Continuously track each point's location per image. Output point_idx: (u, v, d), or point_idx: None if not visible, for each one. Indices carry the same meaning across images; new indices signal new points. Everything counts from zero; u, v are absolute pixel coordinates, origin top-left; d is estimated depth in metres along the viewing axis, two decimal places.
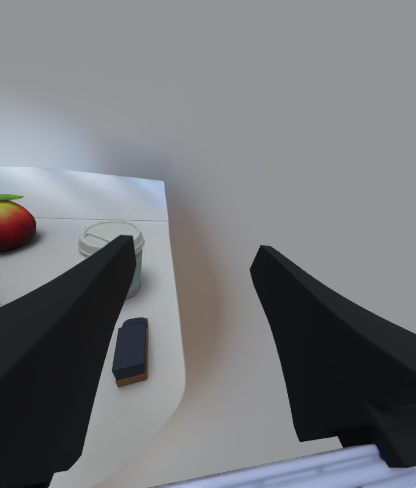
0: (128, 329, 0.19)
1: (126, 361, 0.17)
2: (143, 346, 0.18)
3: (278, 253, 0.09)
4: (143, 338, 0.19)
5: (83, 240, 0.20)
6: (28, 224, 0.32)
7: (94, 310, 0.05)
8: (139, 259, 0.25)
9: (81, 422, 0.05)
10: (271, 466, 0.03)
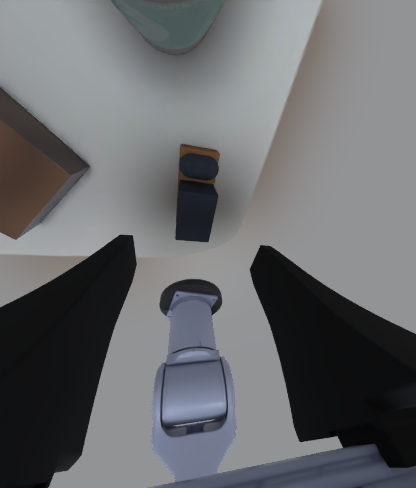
0: (193, 198, 0.12)
1: (190, 236, 0.14)
2: (210, 226, 0.14)
3: (278, 252, 0.09)
4: (212, 217, 0.13)
5: None
6: None
7: (94, 310, 0.05)
8: None
9: (81, 421, 0.05)
10: (271, 466, 0.03)
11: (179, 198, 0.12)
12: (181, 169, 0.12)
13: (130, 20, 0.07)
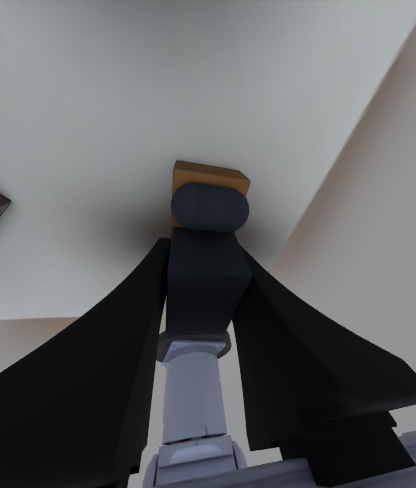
0: (199, 282, 0.06)
1: (193, 329, 0.08)
2: (231, 316, 0.07)
3: (244, 250, 0.08)
4: (235, 305, 0.07)
5: None
6: None
7: (157, 310, 0.05)
8: None
9: (148, 414, 0.05)
10: (271, 466, 0.03)
11: (170, 284, 0.05)
12: (175, 216, 0.06)
13: None
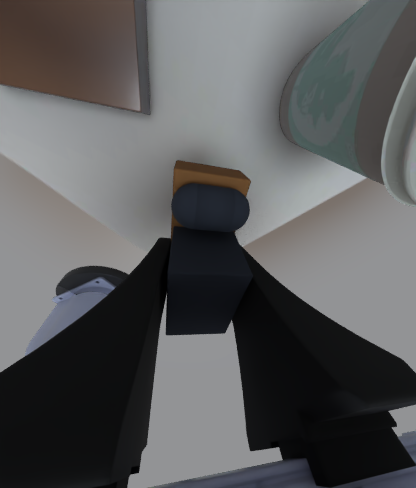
0: (200, 282, 0.06)
1: (193, 329, 0.08)
2: (231, 315, 0.07)
3: (244, 250, 0.08)
4: (236, 305, 0.07)
5: None
6: None
7: (157, 310, 0.05)
8: None
9: (148, 413, 0.05)
10: (271, 466, 0.03)
11: (170, 284, 0.05)
12: (175, 216, 0.06)
13: (306, 111, 0.09)
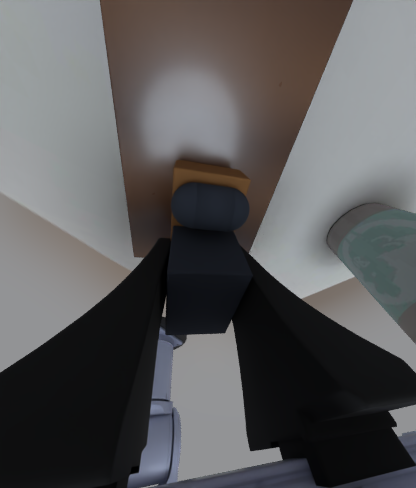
0: (199, 282, 0.06)
1: (193, 329, 0.08)
2: (231, 315, 0.07)
3: (244, 250, 0.08)
4: (236, 305, 0.07)
5: None
6: None
7: (157, 310, 0.05)
8: None
9: (148, 413, 0.05)
10: (271, 466, 0.03)
11: (170, 284, 0.05)
12: (175, 215, 0.06)
13: (358, 267, 0.13)
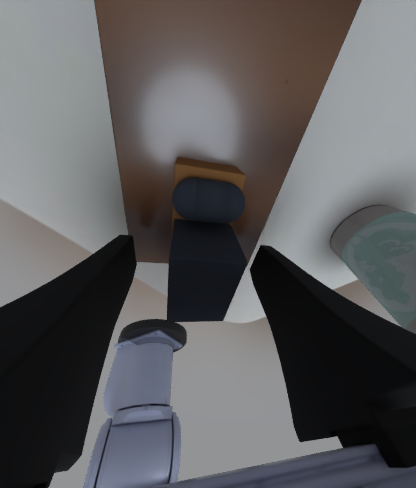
0: (198, 268, 0.06)
1: (192, 316, 0.08)
2: (228, 303, 0.08)
3: (278, 253, 0.09)
4: (232, 292, 0.07)
5: None
6: None
7: (94, 310, 0.05)
8: None
9: (81, 421, 0.05)
10: (271, 466, 0.03)
11: (171, 270, 0.06)
12: (176, 208, 0.07)
13: (364, 272, 0.13)
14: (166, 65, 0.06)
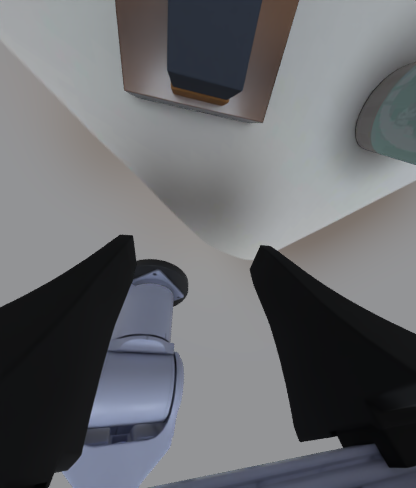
0: None
1: (203, 58, 0.06)
2: (254, 24, 0.05)
3: (278, 252, 0.09)
4: None
5: None
6: None
7: (94, 310, 0.05)
8: None
9: (81, 422, 0.05)
10: (271, 466, 0.03)
11: None
12: None
13: (405, 123, 0.11)
14: None
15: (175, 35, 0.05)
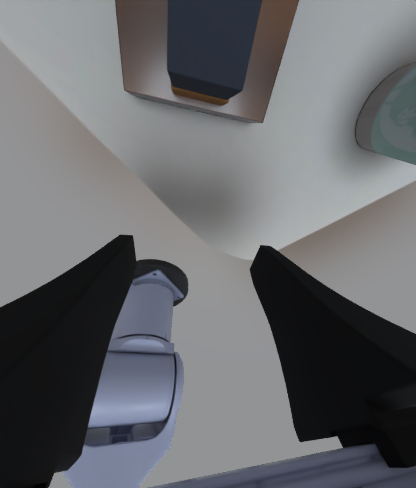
0: None
1: (203, 58, 0.06)
2: (254, 24, 0.05)
3: (278, 252, 0.09)
4: None
5: None
6: None
7: (94, 310, 0.05)
8: None
9: (81, 422, 0.05)
10: (271, 466, 0.03)
11: None
12: None
13: (405, 123, 0.11)
14: None
15: (175, 35, 0.05)
